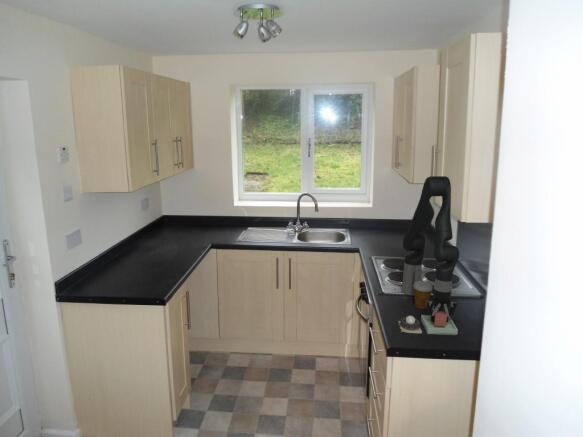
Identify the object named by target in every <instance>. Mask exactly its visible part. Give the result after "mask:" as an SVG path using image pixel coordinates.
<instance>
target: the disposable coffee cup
mask: <svg viewBox="0 0 583 437" xmlns="http://www.w3.org/2000/svg"><path fill="white" fill-rule="evenodd" d="M413 286H414V295H413V296H414V307H416V308H417V309H422V310H427V308H426V302H425V301H426V300H427V301H430V299H431V295H432V291H433V290H434V286H433V284H432V283H430V282H429V281H425V280H420V281H417V282H415V283H414V285H413Z"/></svg>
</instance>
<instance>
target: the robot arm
mask: <svg viewBox="0 0 583 437" xmlns="http://www.w3.org/2000/svg"><path fill="white" fill-rule="evenodd" d="M451 184H452V183H451V181H450V178H449V177H448V176H445V175H443V176H442V175H439V176H437V175H436V176H433V175H432V176H427V178H425V180H424V182H423V186H422V190H421V194H420V198H419V201H418V203H417V205H416V208H415V210H414V212H413V216H412V218H411V222H410V224H409V227H408V228H407V230H406V232H405V234H404V237H403V240H402V247H403V249H404V250H405V251H407V252H412V253H411V254H407V255H406V256H405V257H404V261H403V262H404V263H403V274H402V287H401V292H402V293H403V294H404V293H405V294H404V295H406V296H414V286H413V285H414V283H415V282H417V281H422V280H421V279H422V270H423V268H422V267H423V260H424V255H425V254H424V253H425V248H426V238H425V237H426V236H425V235H424V234H423V233H421V232H423V231H424V230H426V229H427V228H428V227H430V225H431V224H432V222H433V219H434V217H435V209H434V207H433V205H432V203H431V201H430V200H431V198H433V197H441V199H442V200H441V201H442V203H441V207H440V208H439V210H438V213H437V215H436V217H435V220H434V230H435V231H434V232H435V245H434V250H433V257H434V258H435V260H436V261H437V262H440V263H443V262H444V263H443V264H440V265H438V266H436V269H435V271H436V272H435V279H434V283H433V284H434V285H433V294H432V299H431V300H429V301H427V300H426V301H425V302H426V312H427V314H428V315H431V322H432V323H434V320H435V313H436V312H437V311H444V312H445V314H446V315H447V320H446V323H447V322H448V318H449V316H450V317H451V316H454V314H455V311H456V309H457V305H458V304H457V302H456V301H451V297H452V290H453V274H454V270H455V268H456V266H457V264H458V261H459V258H460V250H459V248H458V247H457V246H455V245H444V243H445V242H448V241H451V240H453V229H452V221H451V220H452V219H451V218H452V217H451V213H452V211H451V209H452V207H451V206H452V185H451ZM431 305H433V306H432V308H431ZM449 306H450V309H449V310H448V307H449Z"/></svg>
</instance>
